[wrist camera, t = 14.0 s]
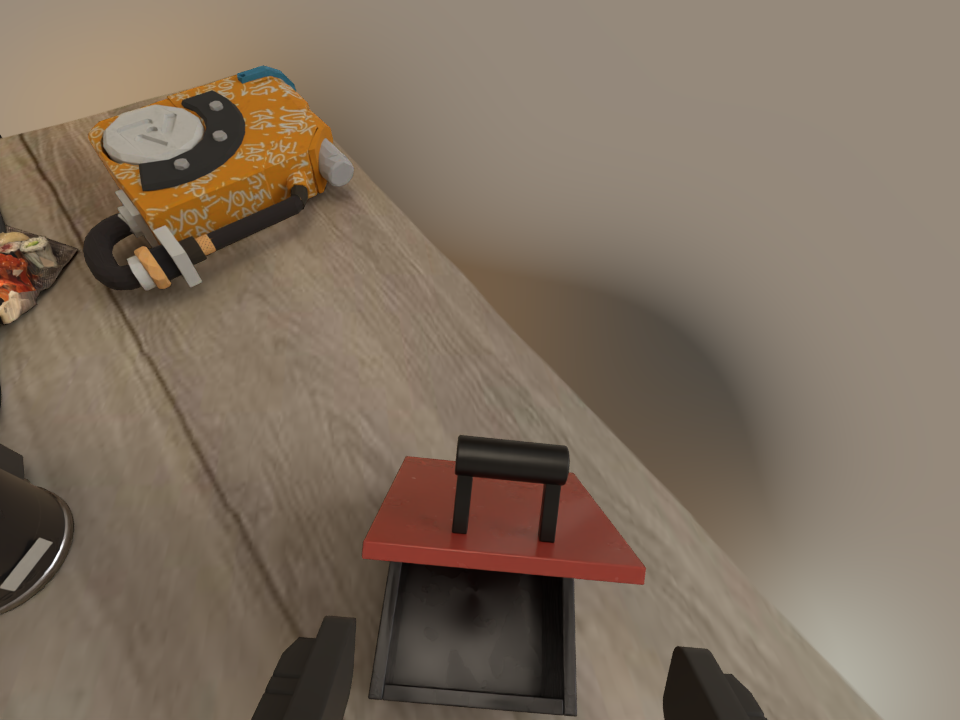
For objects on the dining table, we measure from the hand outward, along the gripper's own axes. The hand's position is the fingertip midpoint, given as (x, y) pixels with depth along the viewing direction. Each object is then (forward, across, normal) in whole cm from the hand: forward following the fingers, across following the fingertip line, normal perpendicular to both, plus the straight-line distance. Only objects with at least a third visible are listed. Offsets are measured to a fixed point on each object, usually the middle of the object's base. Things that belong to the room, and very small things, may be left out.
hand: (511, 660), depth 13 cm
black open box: (+24, -1, +16) cm, 29 cm away
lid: (+16, -1, +5) cm, 16 cm away
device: (+51, +31, -11) cm, 61 cm away
